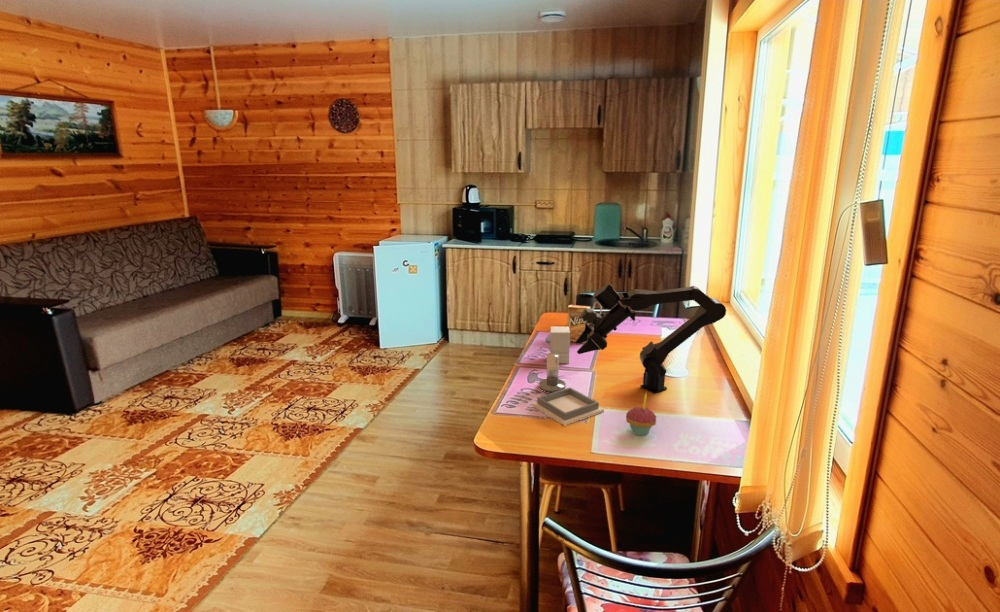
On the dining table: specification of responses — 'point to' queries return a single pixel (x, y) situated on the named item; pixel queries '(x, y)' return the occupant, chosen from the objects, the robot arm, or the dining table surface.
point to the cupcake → (641, 419)
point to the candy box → (575, 321)
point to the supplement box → (560, 342)
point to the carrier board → (567, 406)
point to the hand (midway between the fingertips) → (577, 348)
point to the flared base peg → (552, 375)
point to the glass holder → (586, 301)
